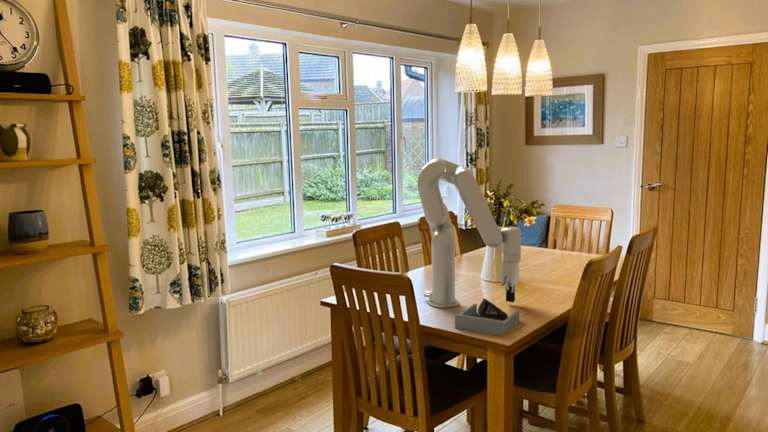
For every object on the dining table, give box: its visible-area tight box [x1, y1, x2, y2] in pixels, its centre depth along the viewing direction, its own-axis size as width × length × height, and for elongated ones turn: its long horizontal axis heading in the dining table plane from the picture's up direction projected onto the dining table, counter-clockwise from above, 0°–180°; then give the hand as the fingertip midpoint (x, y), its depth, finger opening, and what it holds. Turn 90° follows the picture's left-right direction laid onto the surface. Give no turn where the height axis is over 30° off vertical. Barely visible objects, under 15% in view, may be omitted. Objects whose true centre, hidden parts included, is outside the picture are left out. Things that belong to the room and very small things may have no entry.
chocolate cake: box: [477, 297, 509, 321], centre depth 222 cm, size 10×7×12 cm
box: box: [454, 303, 520, 337], centre depth 213 cm, size 18×19×5 cm
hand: (510, 301), depth 236 cm, fingers closed
